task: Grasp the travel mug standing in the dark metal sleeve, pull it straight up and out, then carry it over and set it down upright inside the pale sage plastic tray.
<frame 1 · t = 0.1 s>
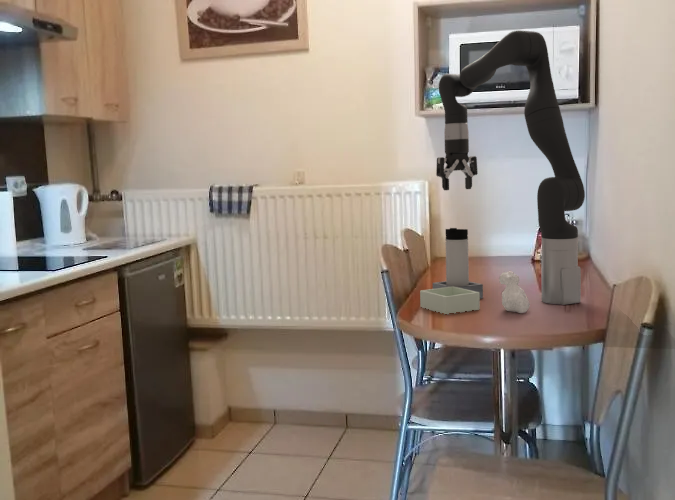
hand: (457, 189, 225), 29 cm above the table, fingers open, 8 cm apart
tray: (449, 308, 185), on the table
travel mug: (457, 298, 200), resting in sleeve
bust: (514, 311, 180), on the table
sleeve: (457, 297, 200), on the table
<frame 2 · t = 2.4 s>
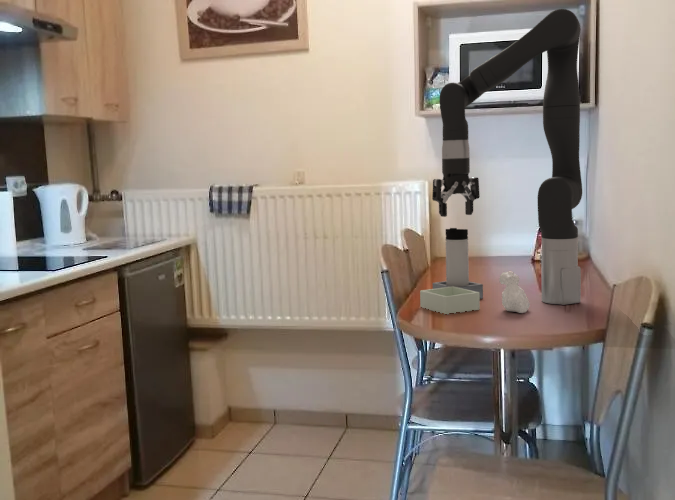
hand: (456, 215, 197), 23 cm above the table, fingers open, 8 cm apart
nothing on the table moved.
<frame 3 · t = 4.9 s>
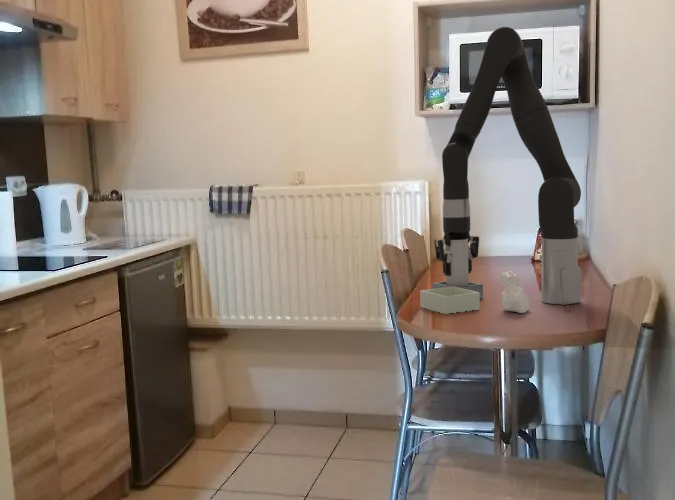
hand: (457, 274, 199), 7 cm above the table, fingers closed on travel mug, 6 cm apart
travel mug: (457, 298, 200), resting in sleeve, touching gripper
everything else where it was.
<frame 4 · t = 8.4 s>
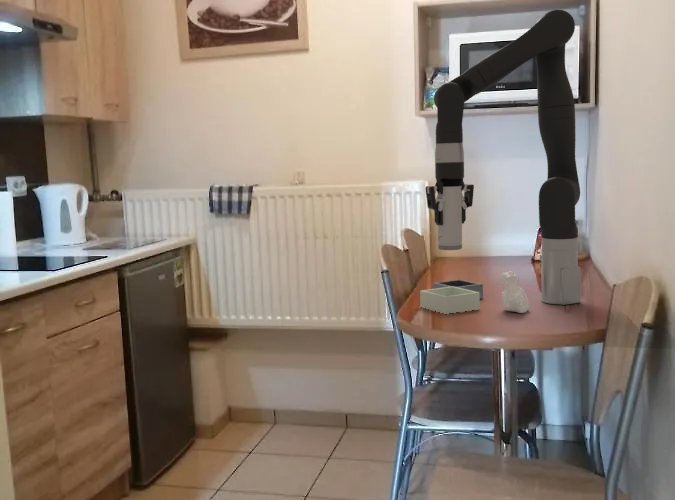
hand: (450, 224, 188), 22 cm above the table, fingers closed on travel mug, 6 cm apart
travel mug: (450, 249, 189), point 15 cm above the table, touching gripper
everything else where it was.
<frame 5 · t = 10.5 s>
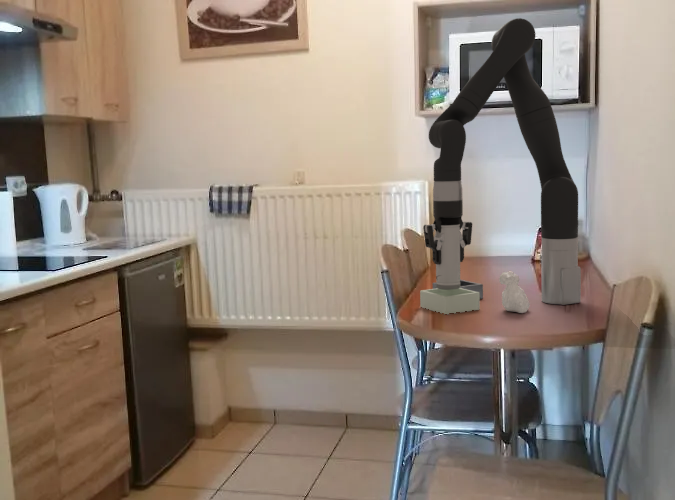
hand: (448, 262, 184), 12 cm above the table, fingers closed on travel mug, 6 cm apart
travel mug: (448, 288, 185), point 5 cm above the table, touching gripper
everything else where it was.
when the fingers open (10 cm above the table, at t = 12.0 s): travel mug drops 2 cm, resting on tray.
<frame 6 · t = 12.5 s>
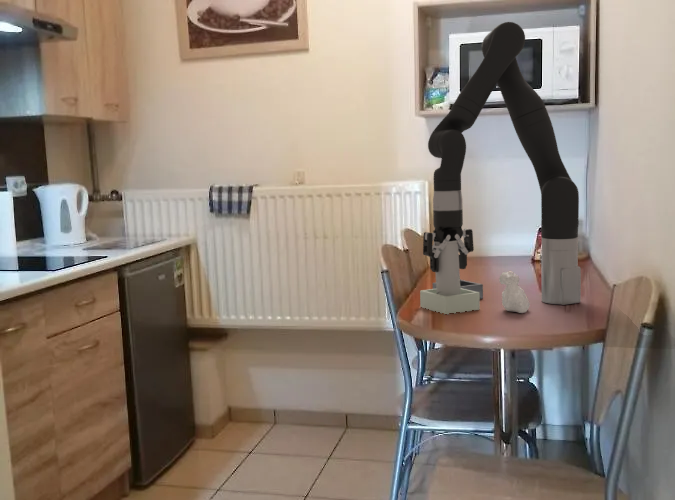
hand: (448, 270, 184), 10 cm above the table, fingers open, 8 cm apart
travel mug: (449, 304, 185), point 1 cm above the table, touching tray
everything else where it was.
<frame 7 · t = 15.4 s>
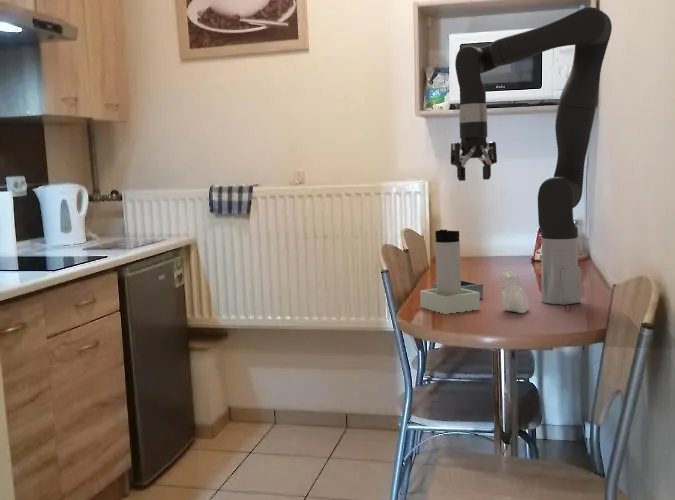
hand: (474, 180, 197), 33 cm above the table, fingers open, 8 cm apart
nothing on the table moved.
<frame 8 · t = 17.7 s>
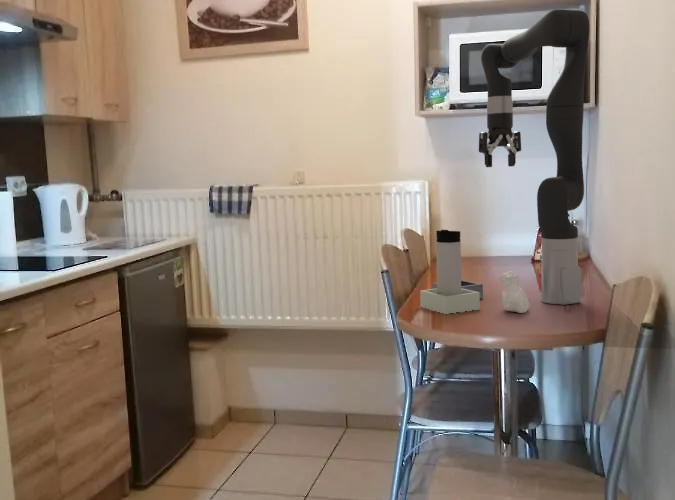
hand: (500, 166, 213), 36 cm above the table, fingers open, 8 cm apart
nothing on the table moved.
at the end: travel mug 0.1 cm off-centre on the tray, point 0.8 cm above the tray's base; travel mug tilted 1°; the gripper is holding nothing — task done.
